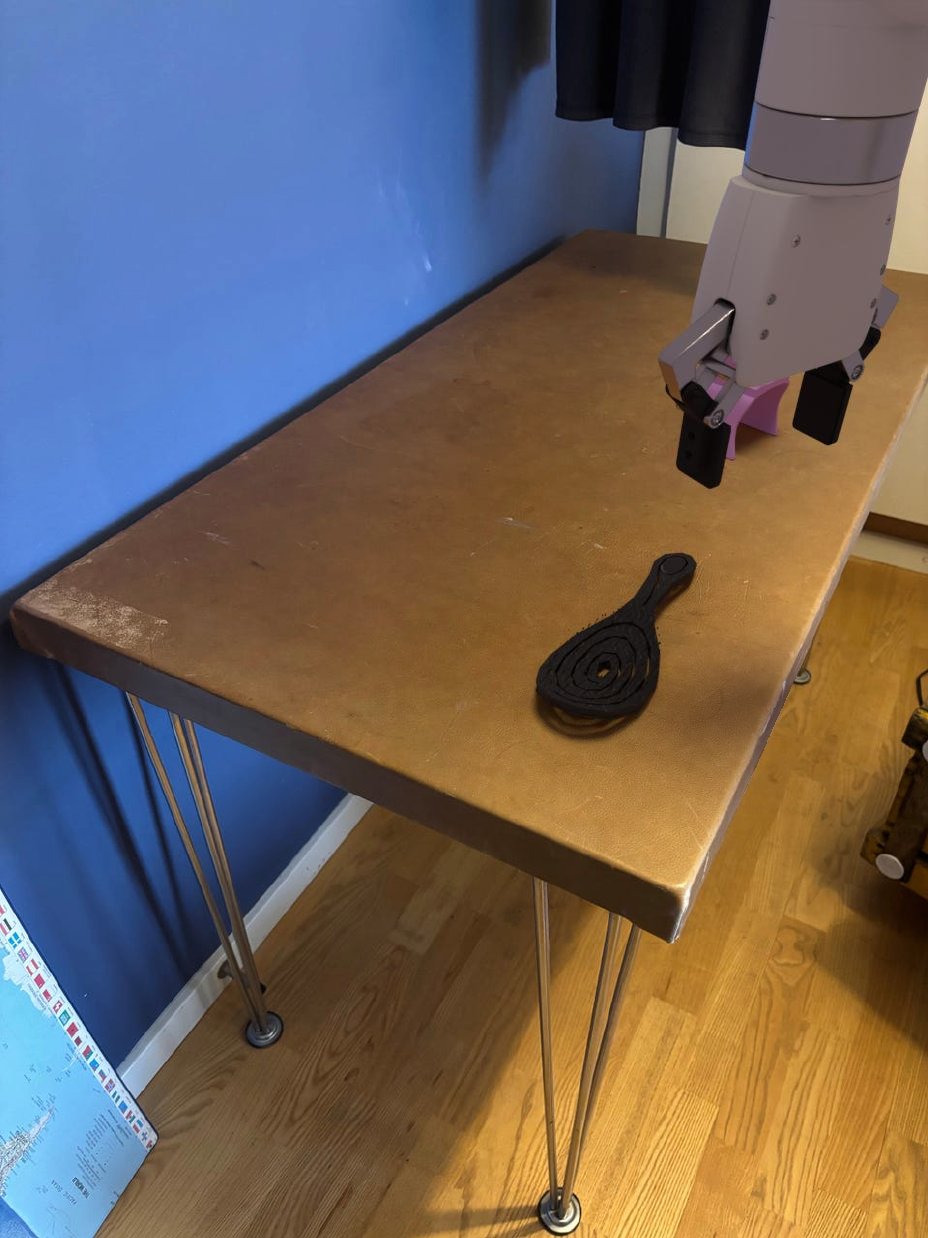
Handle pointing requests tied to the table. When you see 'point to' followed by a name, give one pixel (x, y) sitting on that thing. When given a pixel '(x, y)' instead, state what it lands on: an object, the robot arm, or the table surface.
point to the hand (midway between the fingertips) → (757, 456)
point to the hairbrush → (614, 652)
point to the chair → (752, 407)
